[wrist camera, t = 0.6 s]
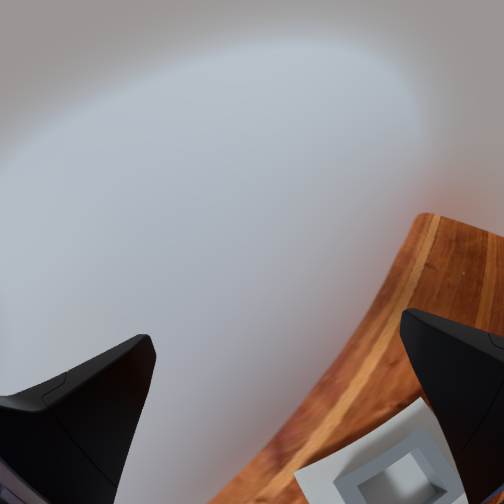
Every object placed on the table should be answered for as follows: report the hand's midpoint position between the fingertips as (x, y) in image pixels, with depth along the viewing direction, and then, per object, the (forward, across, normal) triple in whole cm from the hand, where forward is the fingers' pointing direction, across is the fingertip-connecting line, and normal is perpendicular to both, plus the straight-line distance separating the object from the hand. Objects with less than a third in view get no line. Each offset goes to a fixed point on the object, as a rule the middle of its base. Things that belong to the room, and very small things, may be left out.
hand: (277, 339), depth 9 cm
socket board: (0, -8, +17) cm, 19 cm away
